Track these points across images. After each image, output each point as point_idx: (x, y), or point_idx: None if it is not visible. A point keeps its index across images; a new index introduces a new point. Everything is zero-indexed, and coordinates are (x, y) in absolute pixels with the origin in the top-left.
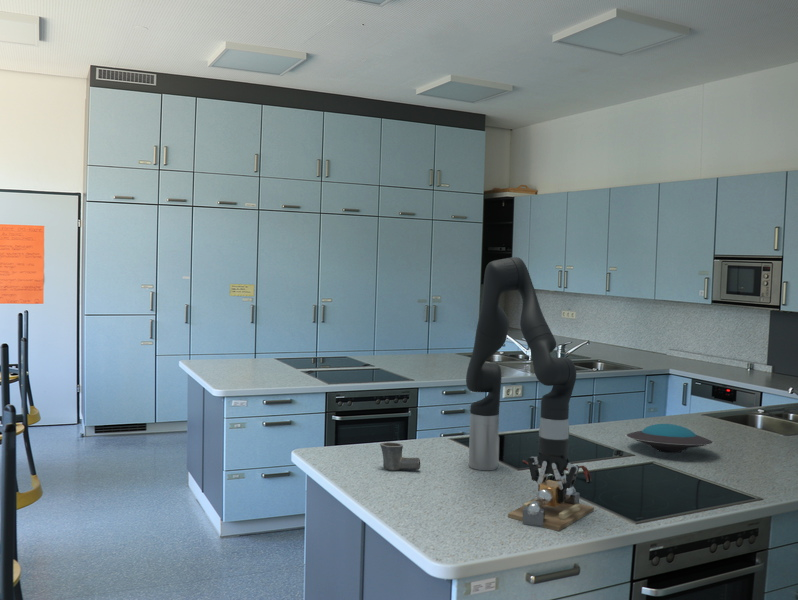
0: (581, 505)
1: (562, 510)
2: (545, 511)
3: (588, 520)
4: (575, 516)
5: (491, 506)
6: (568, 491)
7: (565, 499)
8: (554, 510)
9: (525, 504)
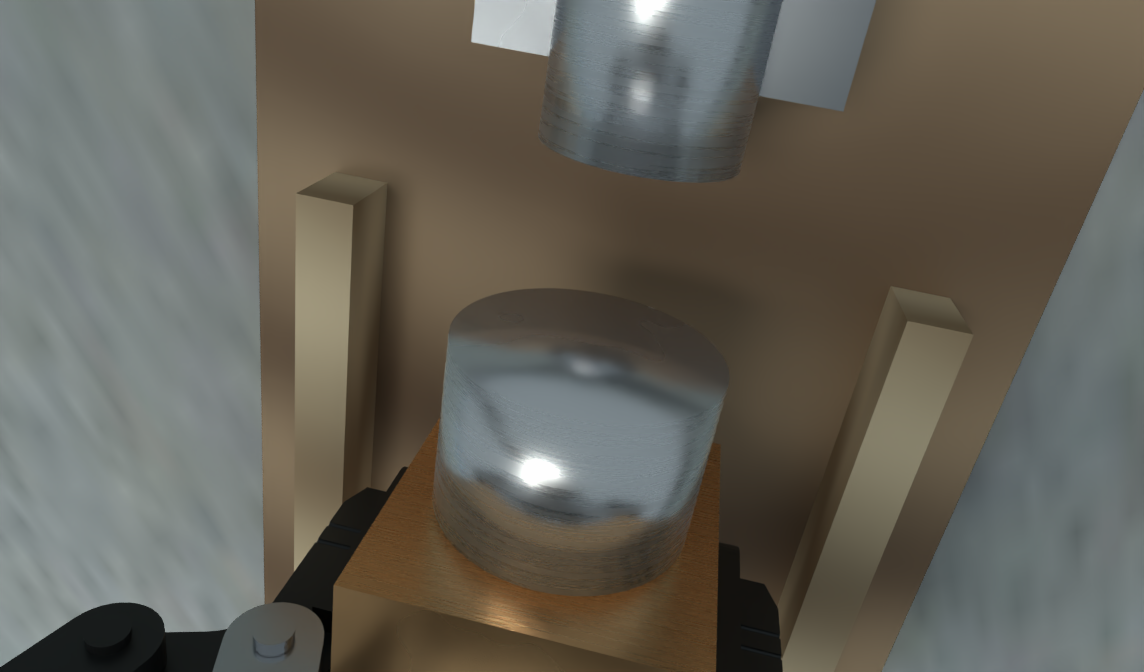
0: (947, 50)
1: None
2: None
3: (1075, 448)
4: (917, 553)
5: (16, 501)
6: (716, 158)
7: (772, 610)
8: None
9: None
